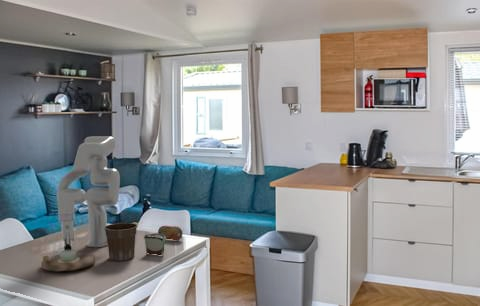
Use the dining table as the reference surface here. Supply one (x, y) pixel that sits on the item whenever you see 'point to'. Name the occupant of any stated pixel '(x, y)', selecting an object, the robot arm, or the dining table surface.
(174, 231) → the tin
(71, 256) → the sage green rounded cylinder
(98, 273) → the dining table surface
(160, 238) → the food container
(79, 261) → the disc
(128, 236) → the plant pot
